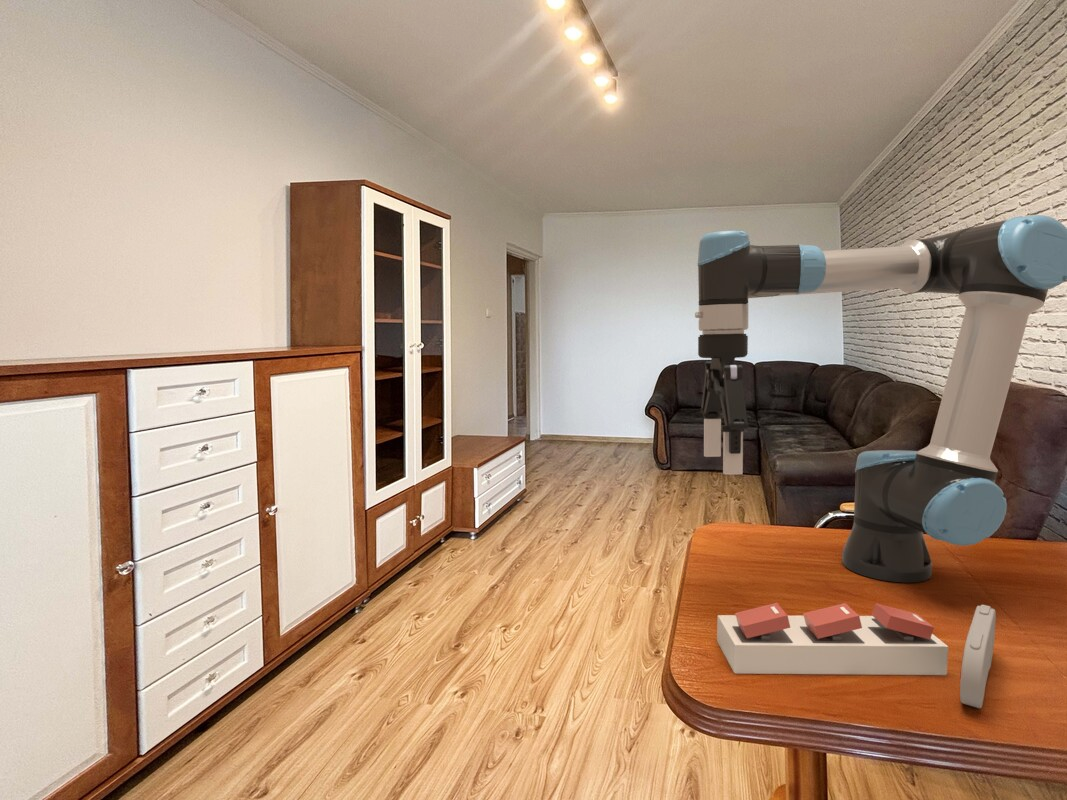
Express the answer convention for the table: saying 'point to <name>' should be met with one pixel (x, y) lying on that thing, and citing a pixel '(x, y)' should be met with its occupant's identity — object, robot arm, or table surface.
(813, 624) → the block
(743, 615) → the rocker
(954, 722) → the table surface
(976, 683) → the grey rounded slab
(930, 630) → the block
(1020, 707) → the table surface
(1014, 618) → the table surface
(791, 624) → the rocker switch panel
